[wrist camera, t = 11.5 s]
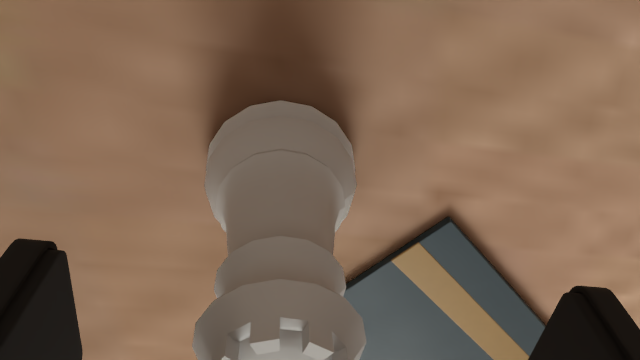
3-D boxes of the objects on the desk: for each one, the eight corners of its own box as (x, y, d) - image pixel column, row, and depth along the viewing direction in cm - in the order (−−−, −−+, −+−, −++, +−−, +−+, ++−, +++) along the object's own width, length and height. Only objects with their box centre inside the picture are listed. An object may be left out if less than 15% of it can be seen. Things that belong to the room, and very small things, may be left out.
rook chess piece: (358, 94, 14) (426, 290, 8) (349, 220, 17) (393, 457, 10) (201, 93, 14) (126, 296, 7) (213, 221, 16) (164, 467, 10)
